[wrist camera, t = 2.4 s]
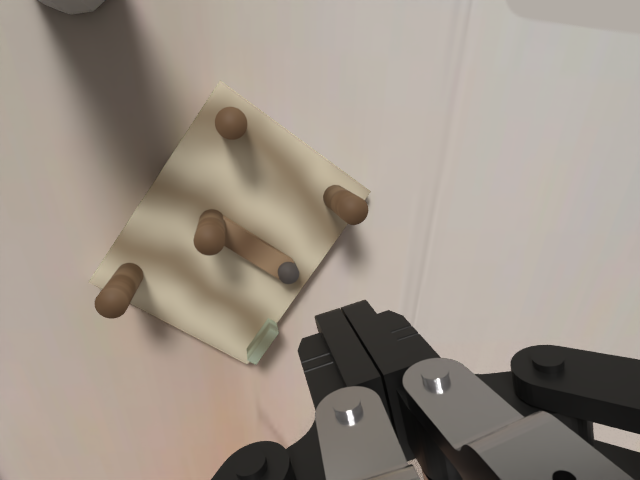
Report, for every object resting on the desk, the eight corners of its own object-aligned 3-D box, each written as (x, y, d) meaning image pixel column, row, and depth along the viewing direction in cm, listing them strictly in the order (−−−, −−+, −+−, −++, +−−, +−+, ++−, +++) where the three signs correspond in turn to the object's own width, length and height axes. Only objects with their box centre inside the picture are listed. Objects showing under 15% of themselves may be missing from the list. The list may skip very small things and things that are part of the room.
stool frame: (246, 355, 48) (250, 405, 39) (94, 274, 43) (61, 313, 34) (364, 188, 46) (396, 203, 37) (220, 82, 41) (218, 71, 32)
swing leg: (301, 263, 44) (314, 288, 37) (287, 282, 44) (298, 310, 38) (208, 204, 41) (204, 220, 34) (193, 225, 41) (187, 245, 34)
